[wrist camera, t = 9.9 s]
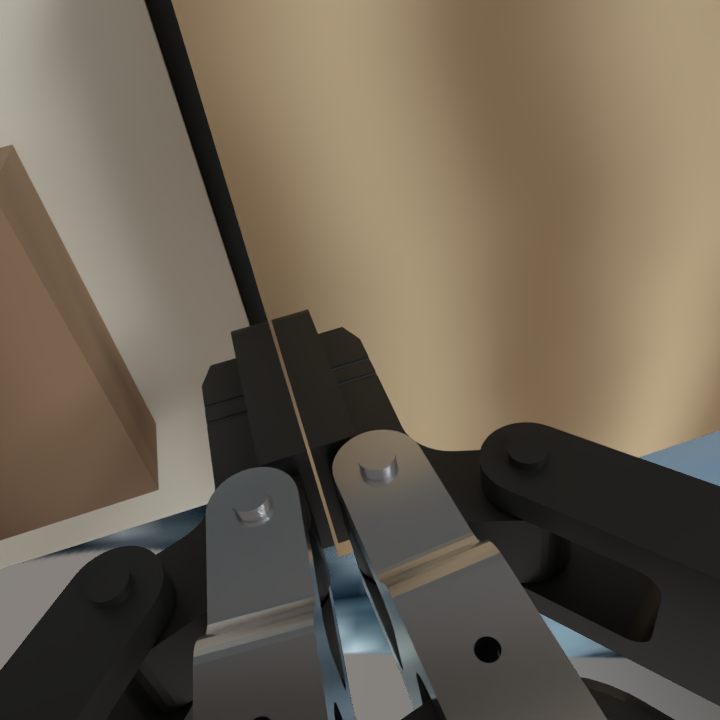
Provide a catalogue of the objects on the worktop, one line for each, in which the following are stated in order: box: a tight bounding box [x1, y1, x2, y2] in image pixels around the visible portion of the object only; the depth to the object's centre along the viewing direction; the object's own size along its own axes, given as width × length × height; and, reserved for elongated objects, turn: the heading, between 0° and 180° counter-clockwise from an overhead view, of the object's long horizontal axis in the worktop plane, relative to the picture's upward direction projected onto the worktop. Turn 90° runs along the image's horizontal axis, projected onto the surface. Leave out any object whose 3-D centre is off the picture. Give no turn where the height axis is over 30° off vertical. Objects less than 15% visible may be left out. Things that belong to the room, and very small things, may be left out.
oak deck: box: [171, 0, 720, 557], centre depth 16 cm, size 12×16×4 cm
